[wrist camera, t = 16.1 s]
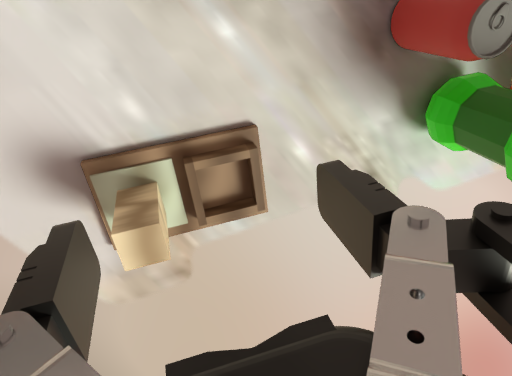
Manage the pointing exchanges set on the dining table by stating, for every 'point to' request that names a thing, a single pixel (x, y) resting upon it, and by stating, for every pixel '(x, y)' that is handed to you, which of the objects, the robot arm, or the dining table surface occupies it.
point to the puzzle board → (187, 179)
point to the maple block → (140, 226)
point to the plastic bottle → (473, 118)
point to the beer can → (454, 27)
